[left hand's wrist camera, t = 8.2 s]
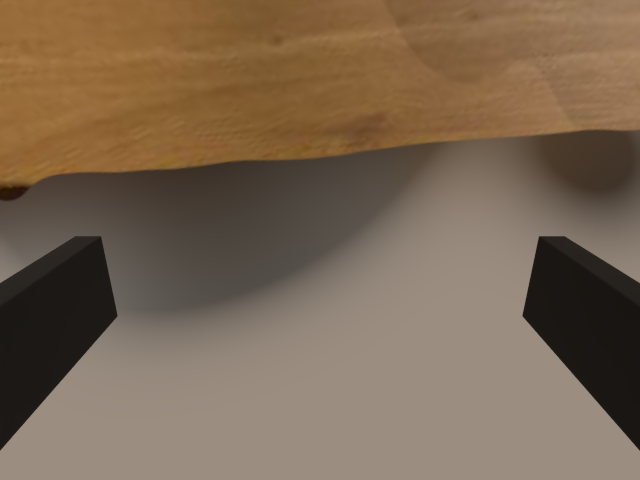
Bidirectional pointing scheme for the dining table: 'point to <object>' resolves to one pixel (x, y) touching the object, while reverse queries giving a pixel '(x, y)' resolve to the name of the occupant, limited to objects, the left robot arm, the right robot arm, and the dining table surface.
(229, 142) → the dining table surface
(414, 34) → the dining table surface
